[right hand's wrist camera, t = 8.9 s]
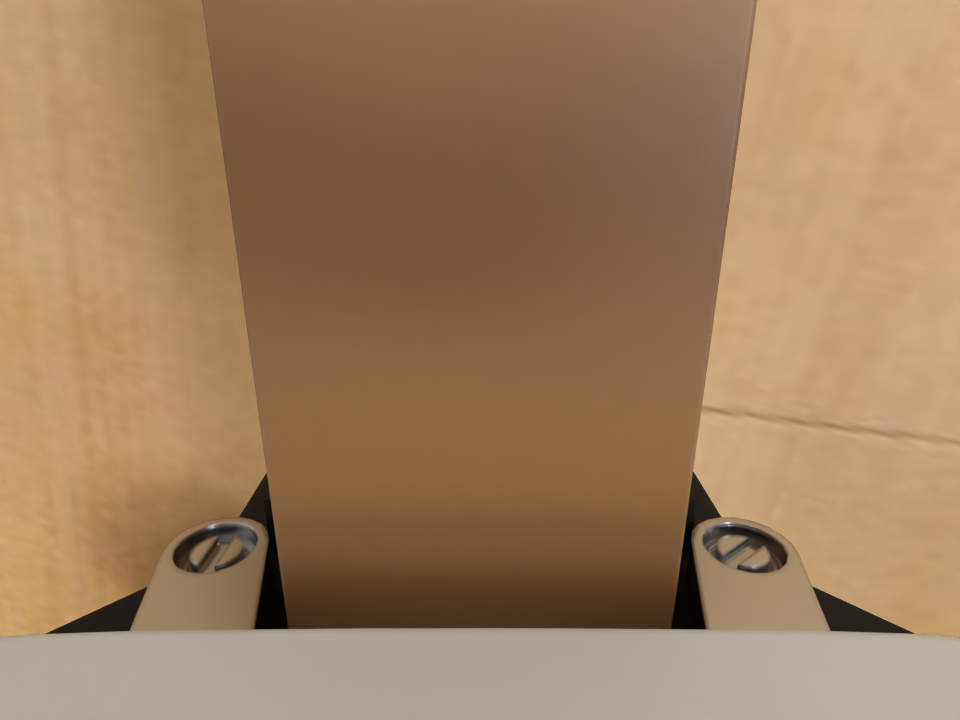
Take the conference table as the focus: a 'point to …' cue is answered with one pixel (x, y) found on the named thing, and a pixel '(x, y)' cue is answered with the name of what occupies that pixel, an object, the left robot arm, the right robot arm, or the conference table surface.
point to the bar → (479, 295)
